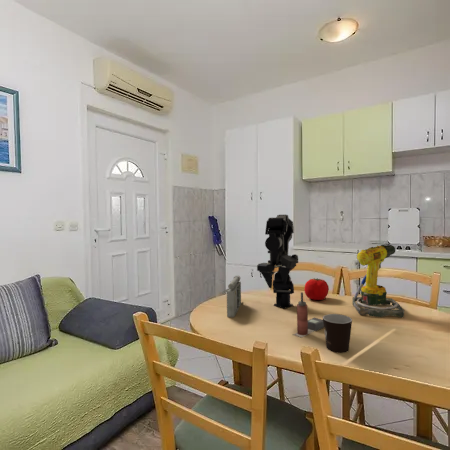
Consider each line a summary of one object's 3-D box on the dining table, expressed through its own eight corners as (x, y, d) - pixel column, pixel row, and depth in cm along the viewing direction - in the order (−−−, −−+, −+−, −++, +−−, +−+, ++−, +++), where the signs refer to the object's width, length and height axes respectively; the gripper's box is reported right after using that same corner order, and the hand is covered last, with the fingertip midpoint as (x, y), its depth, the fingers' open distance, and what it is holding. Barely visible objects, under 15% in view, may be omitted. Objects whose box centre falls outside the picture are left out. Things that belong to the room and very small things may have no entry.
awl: (298, 330, 113) (298, 290, 112) (308, 332, 111) (308, 291, 110) (296, 334, 109) (295, 293, 109) (306, 335, 108) (305, 294, 107)
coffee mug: (349, 359, 92) (349, 325, 91) (319, 352, 96) (319, 320, 96) (356, 344, 102) (356, 313, 101) (329, 339, 106) (328, 309, 106)
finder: (314, 323, 119) (314, 317, 119) (324, 326, 116) (324, 319, 116) (305, 327, 115) (305, 321, 115) (316, 331, 112) (315, 324, 112)
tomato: (314, 303, 147) (313, 281, 146) (299, 297, 158) (299, 277, 157) (334, 300, 151) (334, 279, 151) (319, 294, 162) (319, 275, 161)
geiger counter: (235, 284, 130) (244, 272, 154) (220, 284, 131) (231, 272, 156) (236, 317, 130) (244, 300, 155) (221, 316, 132) (232, 300, 156)
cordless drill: (409, 318, 124) (409, 248, 123) (358, 316, 128) (357, 249, 127) (394, 304, 142) (394, 243, 141) (350, 303, 146) (349, 244, 145)
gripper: (278, 251, 116) (278, 293, 117) (306, 247, 129) (307, 285, 129) (255, 249, 124) (256, 288, 125) (284, 245, 137) (285, 281, 137)
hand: (277, 285), depth 129 cm, fingers open, 9 cm apart
